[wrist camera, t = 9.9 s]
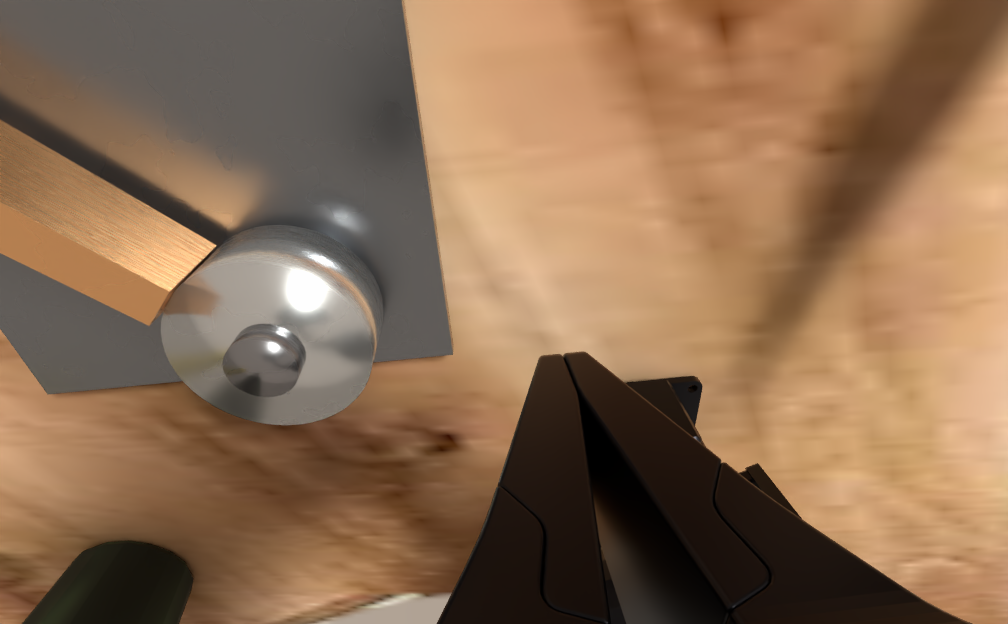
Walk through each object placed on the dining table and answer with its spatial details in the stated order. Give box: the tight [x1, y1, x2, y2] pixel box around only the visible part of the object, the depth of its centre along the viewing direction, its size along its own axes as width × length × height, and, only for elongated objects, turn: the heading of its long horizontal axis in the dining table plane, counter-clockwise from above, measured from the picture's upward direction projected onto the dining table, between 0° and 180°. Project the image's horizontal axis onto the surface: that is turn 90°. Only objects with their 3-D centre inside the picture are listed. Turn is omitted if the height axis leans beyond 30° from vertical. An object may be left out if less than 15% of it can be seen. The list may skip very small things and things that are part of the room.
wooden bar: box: [0, 120, 384, 425], centre depth 16 cm, size 20×7×4 cm, turn 50°
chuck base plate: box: [0, 0, 453, 394], centre depth 17 cm, size 21×18×1 cm
